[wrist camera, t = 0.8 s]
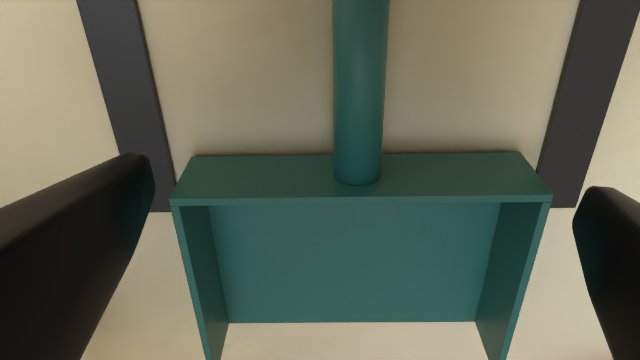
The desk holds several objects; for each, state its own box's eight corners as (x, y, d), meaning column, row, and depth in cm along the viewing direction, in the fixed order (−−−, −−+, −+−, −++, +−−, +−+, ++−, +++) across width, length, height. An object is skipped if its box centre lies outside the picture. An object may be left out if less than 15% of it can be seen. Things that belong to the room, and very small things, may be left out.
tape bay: (573, 204, 25) (575, 207, 25) (137, 209, 26) (135, 212, 25) (705, -207, 16) (711, -209, 16) (27, -187, 17) (23, -188, 16)
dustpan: (479, 318, 30) (501, 376, 26) (223, 319, 30) (209, 377, 26) (576, -107, 18) (642, -110, 14) (146, -96, 18) (99, -96, 14)
